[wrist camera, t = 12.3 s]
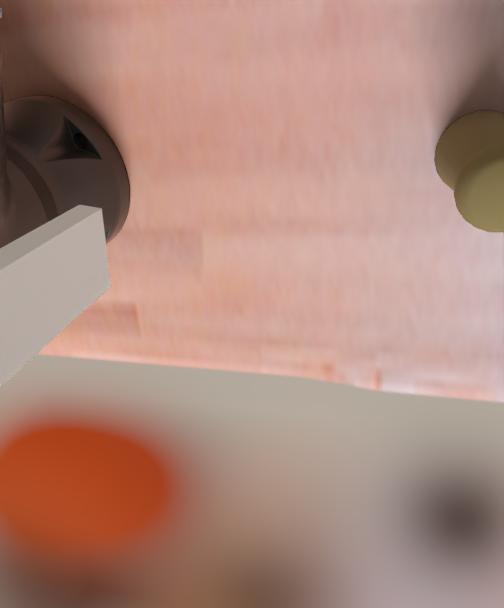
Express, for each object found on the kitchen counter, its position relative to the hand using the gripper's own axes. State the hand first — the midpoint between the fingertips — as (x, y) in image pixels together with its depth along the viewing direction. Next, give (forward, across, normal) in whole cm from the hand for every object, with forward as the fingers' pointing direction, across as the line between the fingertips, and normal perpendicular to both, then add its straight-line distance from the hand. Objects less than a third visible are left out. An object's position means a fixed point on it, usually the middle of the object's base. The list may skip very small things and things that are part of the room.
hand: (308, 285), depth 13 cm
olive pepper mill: (+27, +9, -1) cm, 28 cm away
